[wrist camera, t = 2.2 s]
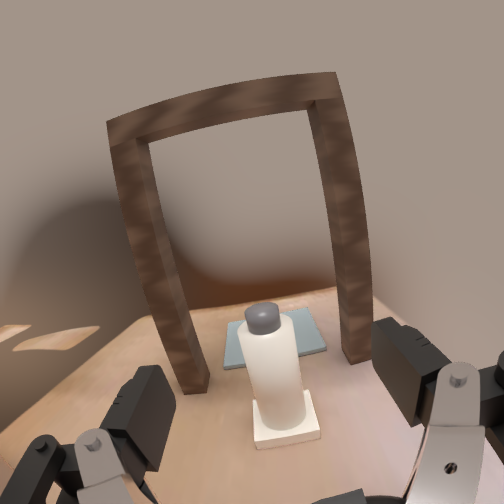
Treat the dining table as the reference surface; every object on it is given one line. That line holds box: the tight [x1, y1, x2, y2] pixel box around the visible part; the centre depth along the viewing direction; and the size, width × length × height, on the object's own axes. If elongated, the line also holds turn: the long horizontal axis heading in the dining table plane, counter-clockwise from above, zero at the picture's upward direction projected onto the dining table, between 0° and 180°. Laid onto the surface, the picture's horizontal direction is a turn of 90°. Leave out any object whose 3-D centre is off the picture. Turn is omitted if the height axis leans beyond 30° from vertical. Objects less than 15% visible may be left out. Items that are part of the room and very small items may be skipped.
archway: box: [106, 72, 373, 395], centre depth 29 cm, size 24×4×33 cm, turn 91°
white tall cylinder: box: [237, 302, 321, 450], centre depth 23 cm, size 6×6×14 cm
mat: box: [223, 307, 327, 370], centre depth 42 cm, size 14×13×1 cm
